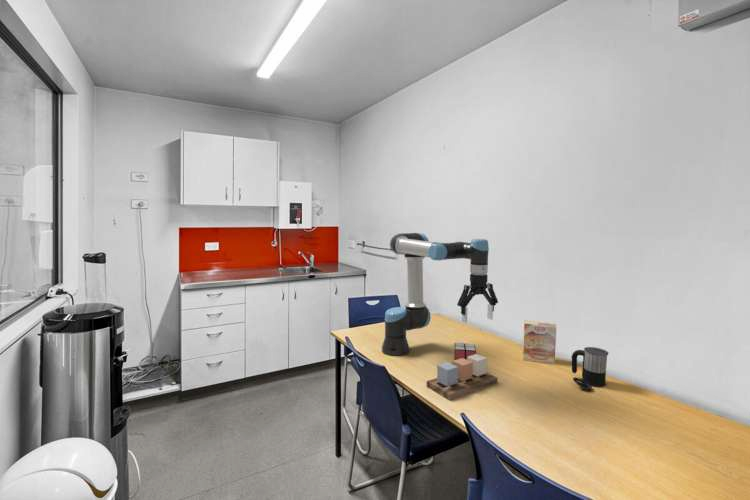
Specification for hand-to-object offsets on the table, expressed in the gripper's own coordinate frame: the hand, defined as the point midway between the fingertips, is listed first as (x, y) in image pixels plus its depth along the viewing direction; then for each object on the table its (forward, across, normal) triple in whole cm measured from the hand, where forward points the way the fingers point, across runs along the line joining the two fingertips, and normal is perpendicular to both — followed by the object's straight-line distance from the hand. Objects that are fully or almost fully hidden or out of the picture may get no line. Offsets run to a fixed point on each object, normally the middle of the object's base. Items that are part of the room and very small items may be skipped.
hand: (477, 320), depth 164 cm
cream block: (+23, -1, -2) cm, 24 cm away
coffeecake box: (+27, +43, +6) cm, 52 cm away
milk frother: (+27, +42, -24) cm, 56 cm away
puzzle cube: (+27, +3, +13) cm, 31 cm away
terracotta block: (+24, -10, -4) cm, 26 cm away
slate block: (+24, -19, -6) cm, 31 cm away
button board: (+27, -10, -4) cm, 29 cm away
